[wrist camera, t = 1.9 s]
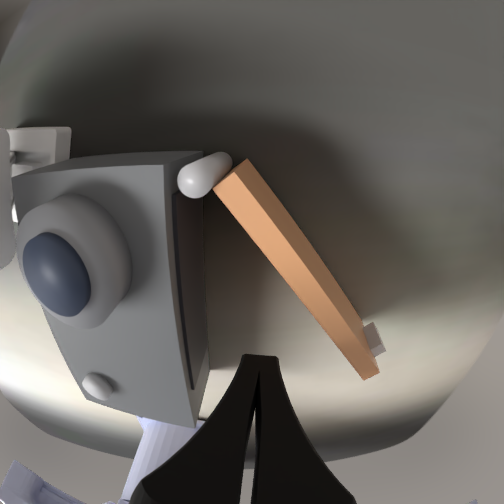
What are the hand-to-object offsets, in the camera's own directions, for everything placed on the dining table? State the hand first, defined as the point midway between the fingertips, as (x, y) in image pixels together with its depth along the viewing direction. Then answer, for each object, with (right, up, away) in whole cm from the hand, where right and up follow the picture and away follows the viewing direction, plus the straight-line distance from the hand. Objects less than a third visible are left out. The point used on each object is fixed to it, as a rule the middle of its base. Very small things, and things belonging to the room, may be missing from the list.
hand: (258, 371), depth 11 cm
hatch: (+2, +5, +2) cm, 6 cm away
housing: (-6, +3, +3) cm, 8 cm away
